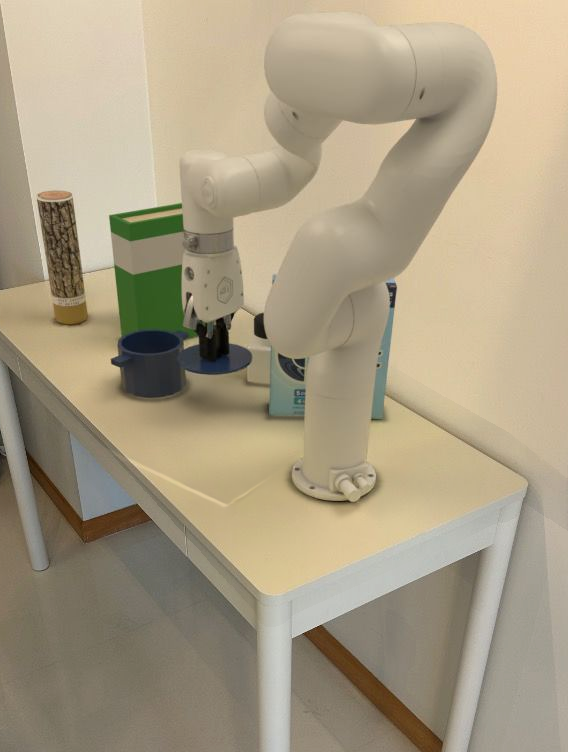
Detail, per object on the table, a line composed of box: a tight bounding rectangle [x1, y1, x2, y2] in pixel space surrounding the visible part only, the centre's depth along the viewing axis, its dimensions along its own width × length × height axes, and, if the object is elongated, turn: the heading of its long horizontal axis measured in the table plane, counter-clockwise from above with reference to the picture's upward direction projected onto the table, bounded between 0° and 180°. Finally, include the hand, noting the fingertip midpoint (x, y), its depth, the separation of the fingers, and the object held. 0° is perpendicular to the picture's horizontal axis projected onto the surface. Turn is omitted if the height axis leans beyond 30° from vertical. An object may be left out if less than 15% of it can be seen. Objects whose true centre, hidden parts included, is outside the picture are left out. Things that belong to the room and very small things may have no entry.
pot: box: [110, 329, 190, 399], centre depth 143 cm, size 11×17×8 cm
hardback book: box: [108, 202, 214, 339], centre depth 157 cm, size 18×7×24 cm, turn 127°
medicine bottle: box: [246, 311, 271, 385], centre depth 145 cm, size 7×7×12 cm
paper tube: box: [36, 190, 89, 325], centre depth 163 cm, size 7×7×25 cm
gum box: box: [268, 274, 398, 420], centre depth 132 cm, size 20×5×23 cm, turn 90°
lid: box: [177, 325, 252, 376], centre depth 131 cm, size 12×12×6 cm
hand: (214, 354), depth 132 cm, fingers closed on lid, 2 cm apart
